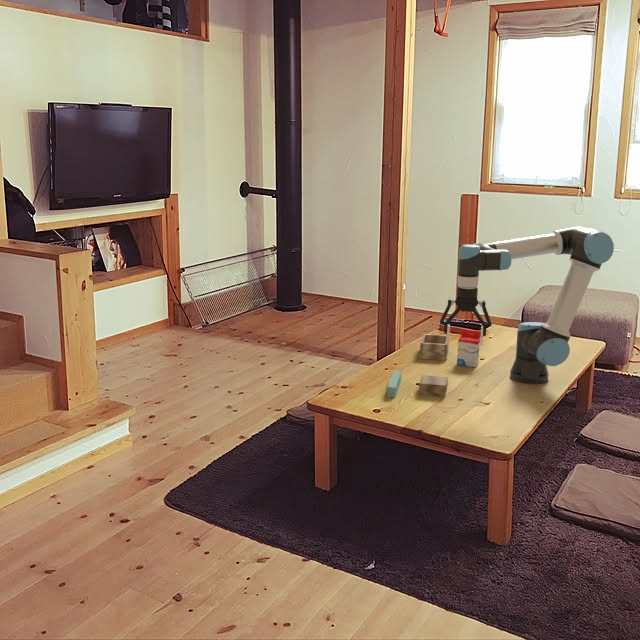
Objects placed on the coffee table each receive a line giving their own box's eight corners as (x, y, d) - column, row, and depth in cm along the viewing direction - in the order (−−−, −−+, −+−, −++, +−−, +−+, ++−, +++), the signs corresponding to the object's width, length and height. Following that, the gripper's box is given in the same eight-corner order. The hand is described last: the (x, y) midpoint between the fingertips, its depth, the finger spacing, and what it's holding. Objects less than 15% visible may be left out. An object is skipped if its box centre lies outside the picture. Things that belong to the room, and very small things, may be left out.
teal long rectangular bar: (401, 380, 315) (401, 371, 314) (395, 397, 296) (395, 387, 295) (393, 380, 316) (393, 370, 315) (387, 397, 297) (387, 387, 296)
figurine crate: (448, 350, 357) (449, 335, 355) (446, 360, 342) (447, 344, 341) (422, 348, 359) (423, 333, 358) (419, 358, 345) (420, 343, 343)
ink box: (456, 365, 336) (458, 332, 332) (459, 361, 340) (460, 329, 337) (476, 367, 333) (478, 334, 329) (478, 364, 337) (480, 331, 333)
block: (447, 389, 306) (447, 377, 305) (444, 398, 297) (445, 385, 296) (421, 387, 309) (422, 375, 308) (418, 395, 299) (419, 383, 298)
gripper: (500, 286, 291) (497, 342, 297) (435, 283, 296) (433, 338, 302) (500, 290, 284) (497, 348, 290) (434, 287, 289) (431, 343, 295)
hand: (464, 343), depth 296 cm, fingers open, 12 cm apart
